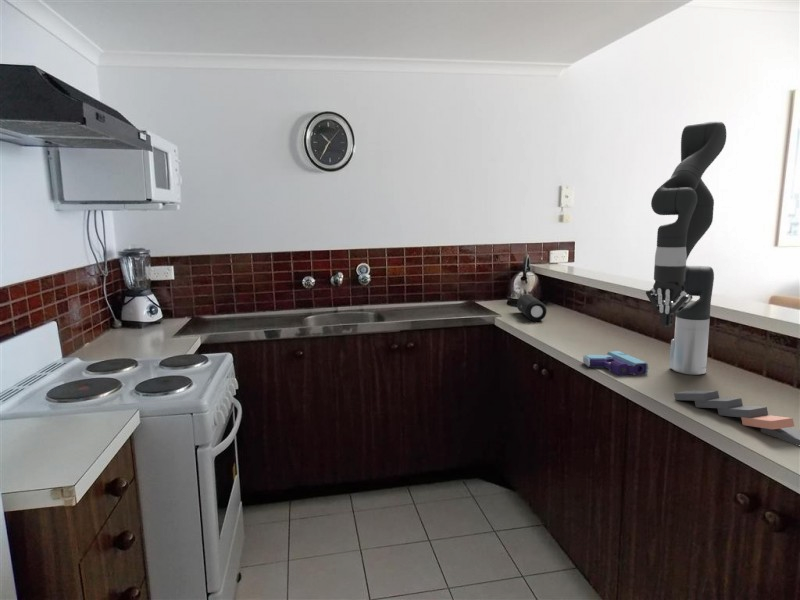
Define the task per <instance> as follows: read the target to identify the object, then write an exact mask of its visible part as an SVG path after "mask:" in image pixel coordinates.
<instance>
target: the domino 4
mask: <svg viewBox="0 0 800 600" xmlns="http://www.w3.org/2000/svg"><path fill="white" fill-rule="evenodd" d="M740 419H741V422H742V426H748V427H754V428H760V429H761V428H766V429H780V428H787V427H790V428H793V427H795V422H794V419H793V417H788V416H787V417H785V416H778V415H771V414H770V415H769V414H768V415H765V416H760V417H754V418H744V417H740Z"/></svg>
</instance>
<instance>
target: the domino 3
mask: <svg viewBox="0 0 800 600" xmlns="http://www.w3.org/2000/svg"><path fill="white" fill-rule="evenodd" d="M716 409H717V412H718V413H717V414H718V416H722V417H724V416H725V417H734V418H735V417H736V418H741V417H744V418H754V417H760V416H765V415H769V412H768V407H767V406H756V405H755V406H754V405H753V406H752V405H743V406H739V407H734V408H729V409H724V408H716Z"/></svg>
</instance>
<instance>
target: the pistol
mask: <svg viewBox="0 0 800 600" xmlns="http://www.w3.org/2000/svg"><path fill="white" fill-rule="evenodd" d="M582 363H583V364H584V365H586V366H587V367H589V368H606V369H608V370H609V371H610V372H611V373H613V374H615V375H617V376H618V375H621V376H628V375H633V376H636V374H637V375H640V374H644V375H648V373H649V364H648V362H646V361H644V360H642V359H638V358H636V357H634V356H632V355H629V354H627V353H624V352H622V351H620V350H613V351H612V350H611V351H607V353H606V354H604V355H603V354H588V355H583V358H582Z"/></svg>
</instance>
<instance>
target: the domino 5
mask: <svg viewBox="0 0 800 600" xmlns="http://www.w3.org/2000/svg"><path fill="white" fill-rule="evenodd" d="M762 432H763V434H765V433H766V435H768V434H769V435H768V436H770V435H772V436H771V437H773V436H774V437H773V438H776V437H777V438H776V439H778V438H779V440H781V439H782V440H781V441H784V440H785V441H784V442H787V441H788V443H789V442H791V443H790V444H792V443H794V444H793V445H795V444H797V445H800V430H799V429H796V428H793V427H787V428H780V429H766V428H760V433H762ZM797 445H796V446H797Z"/></svg>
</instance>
